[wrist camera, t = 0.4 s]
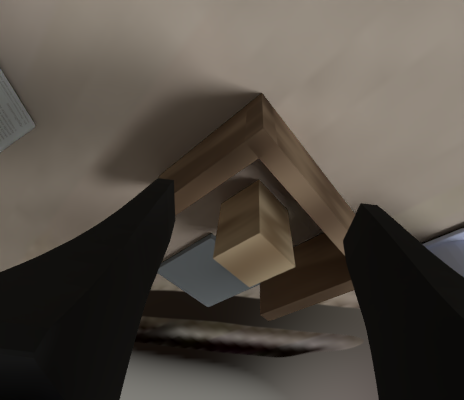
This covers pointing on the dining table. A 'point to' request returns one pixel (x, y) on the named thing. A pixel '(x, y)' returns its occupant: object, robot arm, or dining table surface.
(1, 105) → the skincare box
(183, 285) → the mat
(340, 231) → the brown wooden arch
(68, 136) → the dining table surface
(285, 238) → the oak block
